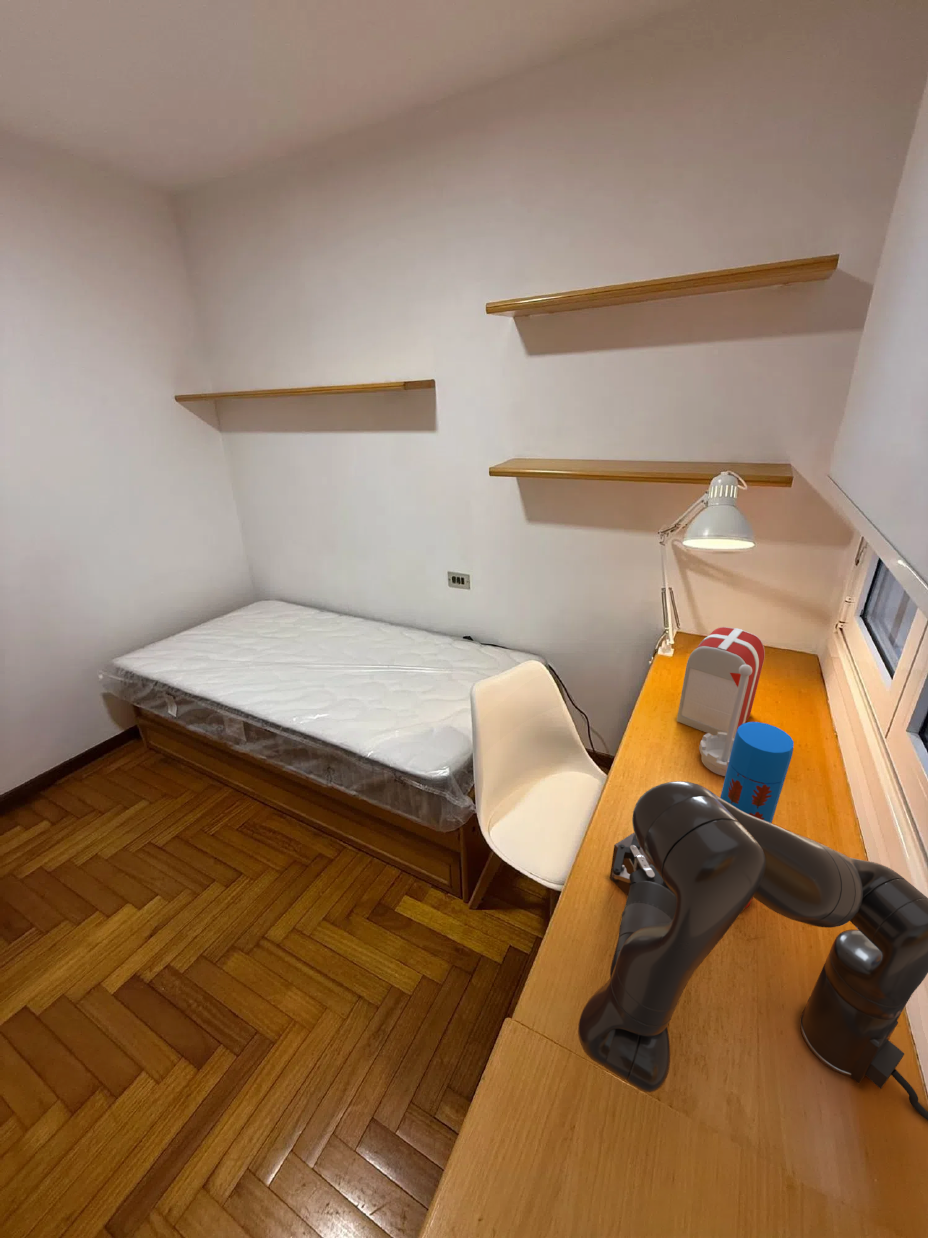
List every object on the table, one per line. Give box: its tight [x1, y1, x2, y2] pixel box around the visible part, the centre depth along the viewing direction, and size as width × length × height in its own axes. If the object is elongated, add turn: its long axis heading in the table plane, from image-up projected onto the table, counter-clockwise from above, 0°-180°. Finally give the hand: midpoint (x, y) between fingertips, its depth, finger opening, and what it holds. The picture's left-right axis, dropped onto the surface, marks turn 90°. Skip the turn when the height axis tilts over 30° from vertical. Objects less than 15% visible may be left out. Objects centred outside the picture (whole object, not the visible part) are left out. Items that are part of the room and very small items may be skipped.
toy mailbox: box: [676, 626, 766, 739], centre depth 151 cm, size 16×18×27 cm
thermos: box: [719, 721, 795, 824], centre depth 114 cm, size 11×11×25 cm
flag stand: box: [698, 665, 752, 777], centre depth 132 cm, size 13×13×30 cm
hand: (666, 844), depth 89 cm, fingers open, 8 cm apart
